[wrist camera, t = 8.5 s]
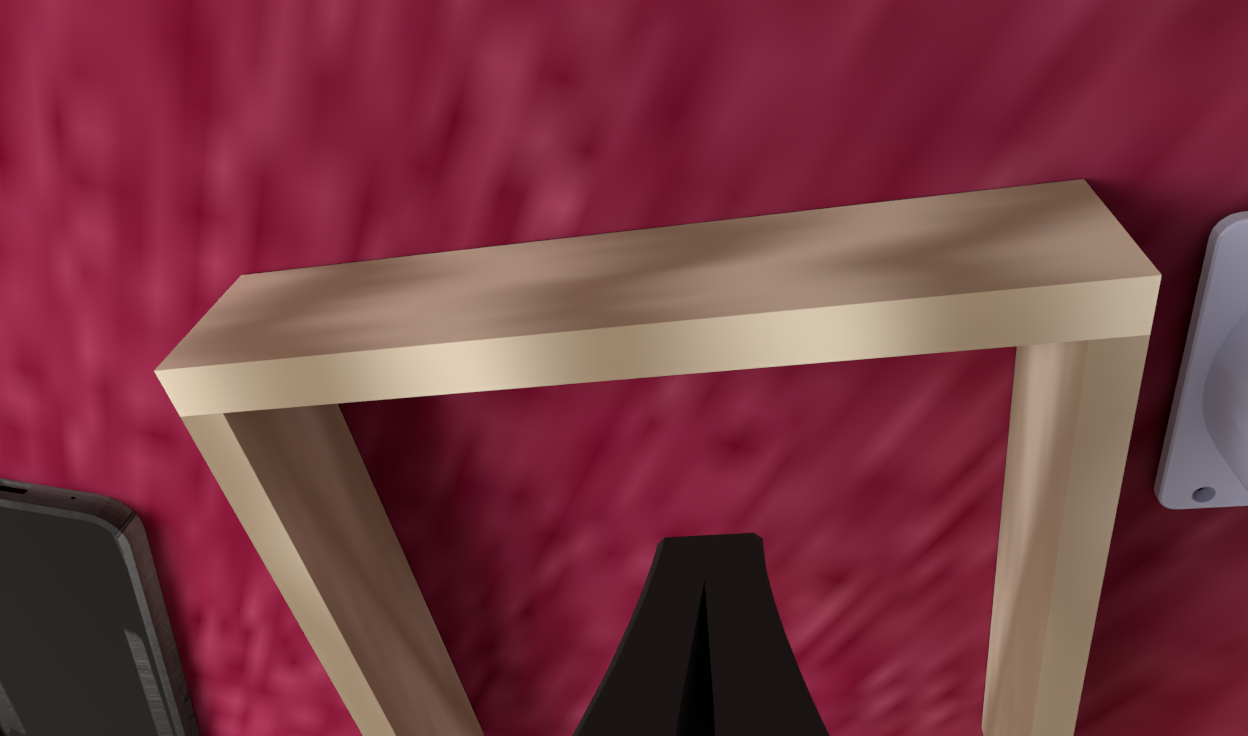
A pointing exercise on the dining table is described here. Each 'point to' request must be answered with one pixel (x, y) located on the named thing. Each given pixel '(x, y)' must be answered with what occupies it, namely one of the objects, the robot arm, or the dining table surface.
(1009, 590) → the wooden frame
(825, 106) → the dining table surface
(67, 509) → the phone
